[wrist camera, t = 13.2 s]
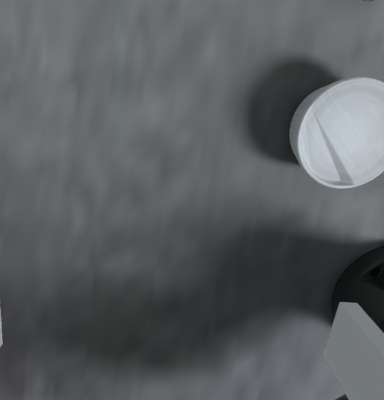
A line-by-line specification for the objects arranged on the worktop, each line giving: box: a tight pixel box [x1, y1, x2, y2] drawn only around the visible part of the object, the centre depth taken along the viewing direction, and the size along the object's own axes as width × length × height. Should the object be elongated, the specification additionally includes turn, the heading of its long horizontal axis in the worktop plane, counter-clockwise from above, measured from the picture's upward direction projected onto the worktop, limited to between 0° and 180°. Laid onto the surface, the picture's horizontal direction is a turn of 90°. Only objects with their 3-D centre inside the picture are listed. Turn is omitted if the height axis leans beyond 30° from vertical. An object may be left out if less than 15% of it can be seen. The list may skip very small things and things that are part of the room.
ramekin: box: [289, 77, 384, 189], centre depth 36 cm, size 11×11×5 cm
